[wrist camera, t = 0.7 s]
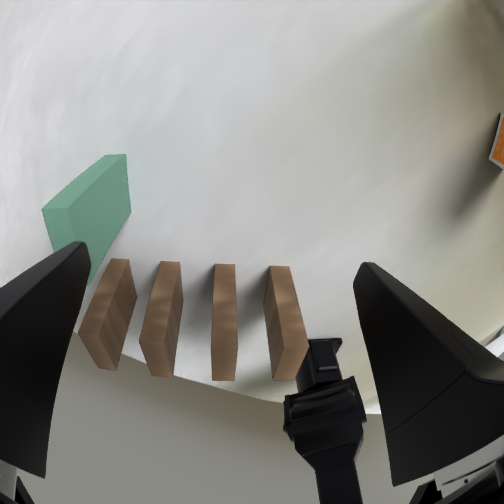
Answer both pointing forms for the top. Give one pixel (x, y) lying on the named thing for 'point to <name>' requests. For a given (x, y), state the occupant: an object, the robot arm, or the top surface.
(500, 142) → the skincare box
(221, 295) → the tile
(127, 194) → the tile
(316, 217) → the top surface
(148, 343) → the tile
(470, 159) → the top surface
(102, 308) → the brown wooden block
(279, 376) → the wooden block
